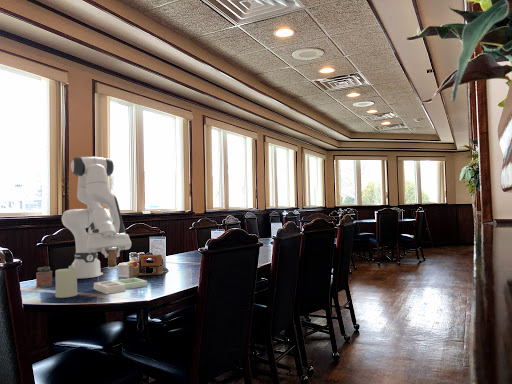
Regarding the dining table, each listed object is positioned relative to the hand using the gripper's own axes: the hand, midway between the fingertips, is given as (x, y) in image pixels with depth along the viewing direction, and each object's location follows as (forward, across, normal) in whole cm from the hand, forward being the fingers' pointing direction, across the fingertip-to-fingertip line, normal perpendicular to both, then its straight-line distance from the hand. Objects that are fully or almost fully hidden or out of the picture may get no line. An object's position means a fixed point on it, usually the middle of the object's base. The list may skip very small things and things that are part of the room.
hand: (112, 256), depth 196 cm
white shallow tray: (+9, 0, -15) cm, 17 cm away
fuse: (+4, 0, -4) cm, 6 cm away
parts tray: (+6, -11, -18) cm, 21 cm away
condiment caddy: (-14, -33, -40) cm, 54 cm away
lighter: (-13, +24, -38) cm, 47 cm away
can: (+8, +19, -15) cm, 26 cm away
